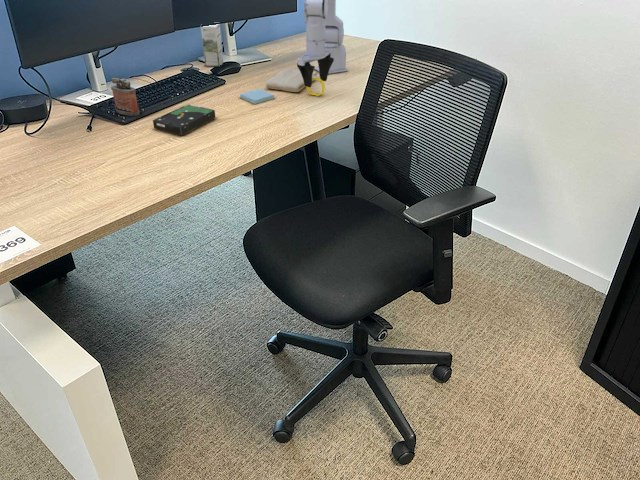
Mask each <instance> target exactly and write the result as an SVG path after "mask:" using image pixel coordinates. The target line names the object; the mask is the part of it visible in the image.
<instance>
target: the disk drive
mask: <svg viewBox="0 0 640 480" xmlns="http://www.w3.org/2000/svg"><path fill="white" fill-rule="evenodd" d="M215 118H216V110H215V109H213V108H212V109H211V108H207V107H205V106H204V107H203V106H195V105H191V104H186V105H183V106H180V107H179V108H176V109H174V110H172V111H170V112H167V113H166V114H163V115H161V116H158V117H157V118H154V119H153V120H152V124H153V128H154V129H156V130H159V131H162V132H167V133H171V134H174V135H179V136H184V135H186V134H188V133H190V132H192V131H194V130H195V129H197V128H200V127H201V126H203V125H205V124H208V123H209V122H211V121H213V120H215Z"/></svg>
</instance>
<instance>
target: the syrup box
mask: <svg viewBox="0 0 640 480" xmlns="http://www.w3.org/2000/svg"><path fill="white" fill-rule="evenodd" d="M220 24H221V23H220ZM220 24H216V25H209V26H203V27H201V26H200V35H201V41H202V42H201V43H202V50H203V51H202V52H203V59H204V66H205V67H216V68H217V67H218V68H219V67H221V66H222V65H223V64H224V56H223V47H222V34H221V25H220ZM220 65H221V66H220Z"/></svg>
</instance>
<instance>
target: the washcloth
mask: <svg viewBox="0 0 640 480" xmlns="http://www.w3.org/2000/svg"><path fill="white" fill-rule="evenodd" d="M317 73H318V72H317V71H314V70H313V74H312V76H317ZM314 81H315V80H312V83H313V82H314ZM265 87H266V88H267V89H271V90H279V91H284V92H291V93H299V92H301V91H302V90H304V88H306V86H305V85H304V81H303V77H302V74H301V72H300V70H299V68H289V67H287V68H285V69H283V70H279V71H278V72H277V73H276V74H274V75H272V77H269V79H267V81H266V84H265Z"/></svg>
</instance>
